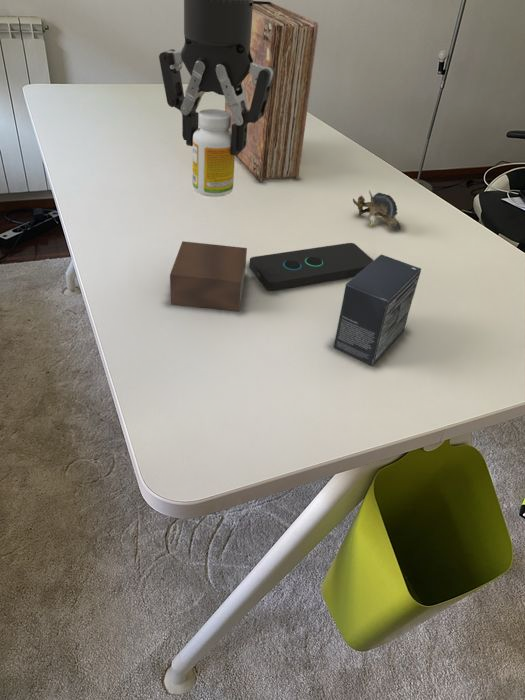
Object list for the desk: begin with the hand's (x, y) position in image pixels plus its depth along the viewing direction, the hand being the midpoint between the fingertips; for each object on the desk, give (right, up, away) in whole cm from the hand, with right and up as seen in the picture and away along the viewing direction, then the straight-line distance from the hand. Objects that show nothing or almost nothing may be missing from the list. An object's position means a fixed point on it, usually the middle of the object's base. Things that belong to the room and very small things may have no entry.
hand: (214, 148), depth 70 cm
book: (+5, +18, +58) cm, 61 cm away
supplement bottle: (0, -4, +4) cm, 6 cm away
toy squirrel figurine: (+28, -1, +37) cm, 47 cm away
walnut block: (-2, -16, +14) cm, 22 cm away
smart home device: (+14, -12, +21) cm, 29 cm away
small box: (+21, -24, +8) cm, 33 cm away
